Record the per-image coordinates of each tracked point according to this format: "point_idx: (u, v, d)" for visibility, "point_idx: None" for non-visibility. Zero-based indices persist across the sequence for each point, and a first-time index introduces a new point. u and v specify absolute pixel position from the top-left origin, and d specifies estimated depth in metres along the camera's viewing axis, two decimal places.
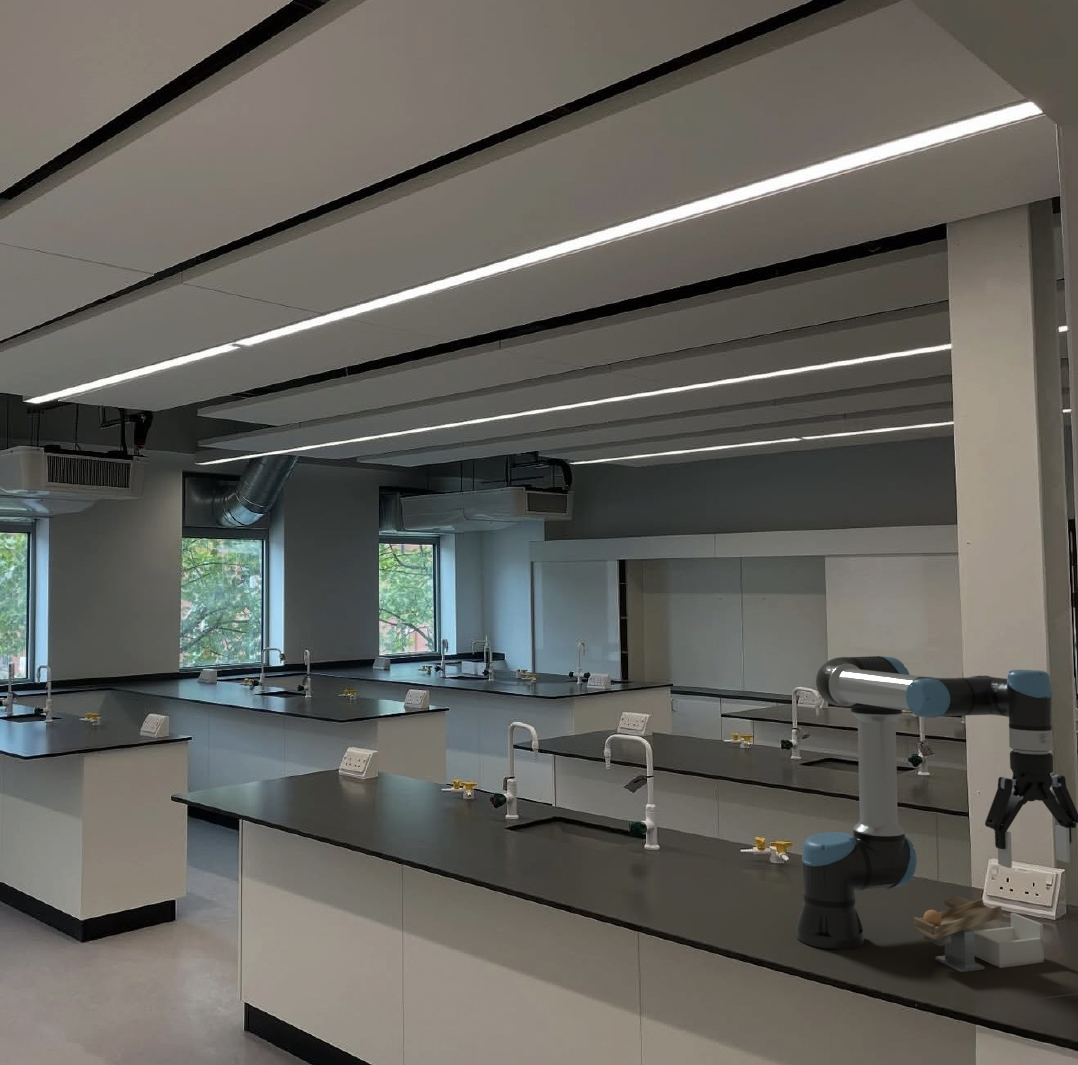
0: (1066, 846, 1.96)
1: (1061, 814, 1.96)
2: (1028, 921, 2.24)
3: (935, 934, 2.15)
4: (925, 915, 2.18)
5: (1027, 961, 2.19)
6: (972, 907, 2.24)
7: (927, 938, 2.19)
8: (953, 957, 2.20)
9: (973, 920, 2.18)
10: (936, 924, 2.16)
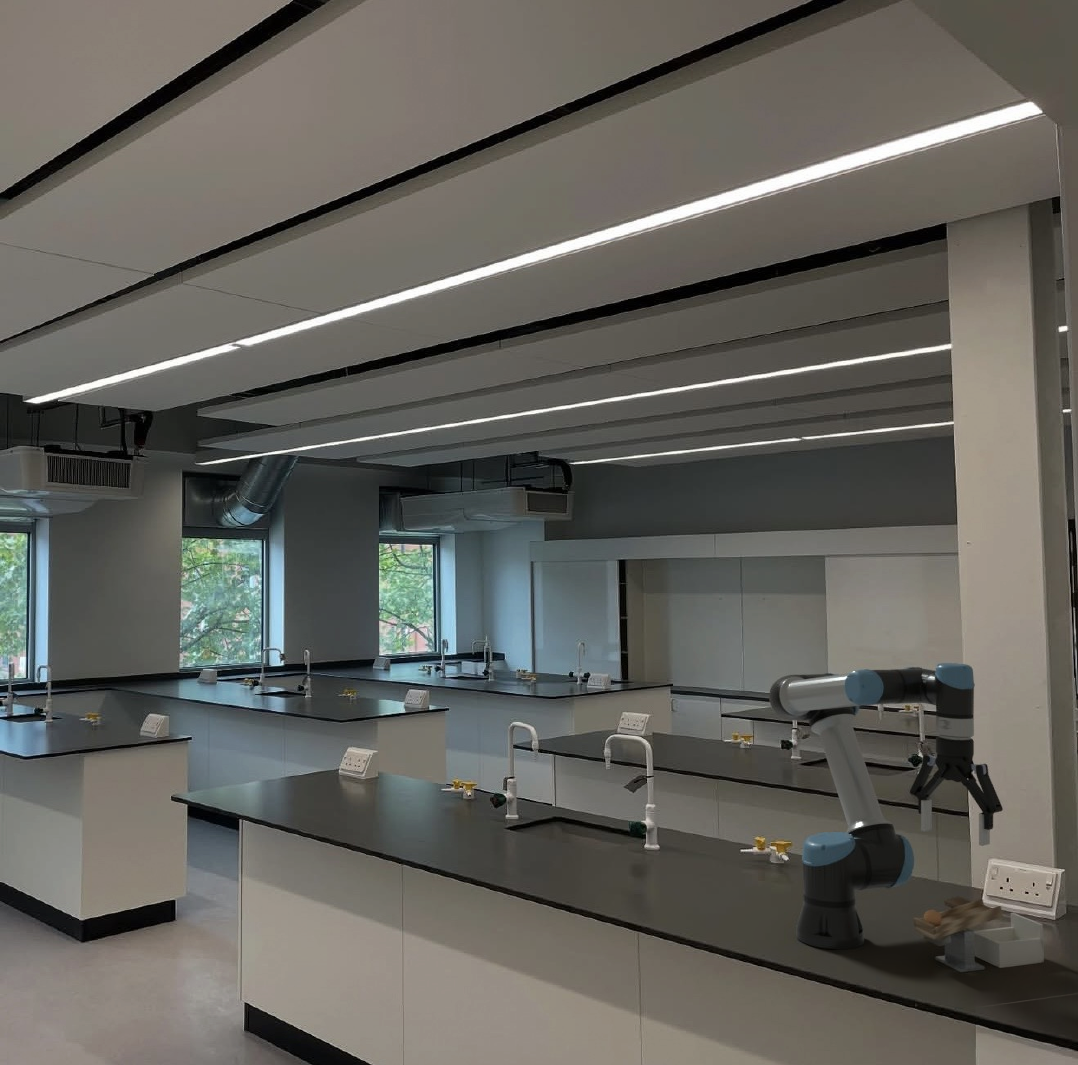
0: (979, 830, 2.11)
1: (976, 800, 2.12)
2: (1028, 921, 2.24)
3: (935, 934, 2.15)
4: (925, 915, 2.18)
5: (1027, 961, 2.19)
6: (972, 907, 2.24)
7: (927, 938, 2.19)
8: (953, 957, 2.20)
9: (973, 920, 2.18)
10: (936, 924, 2.16)
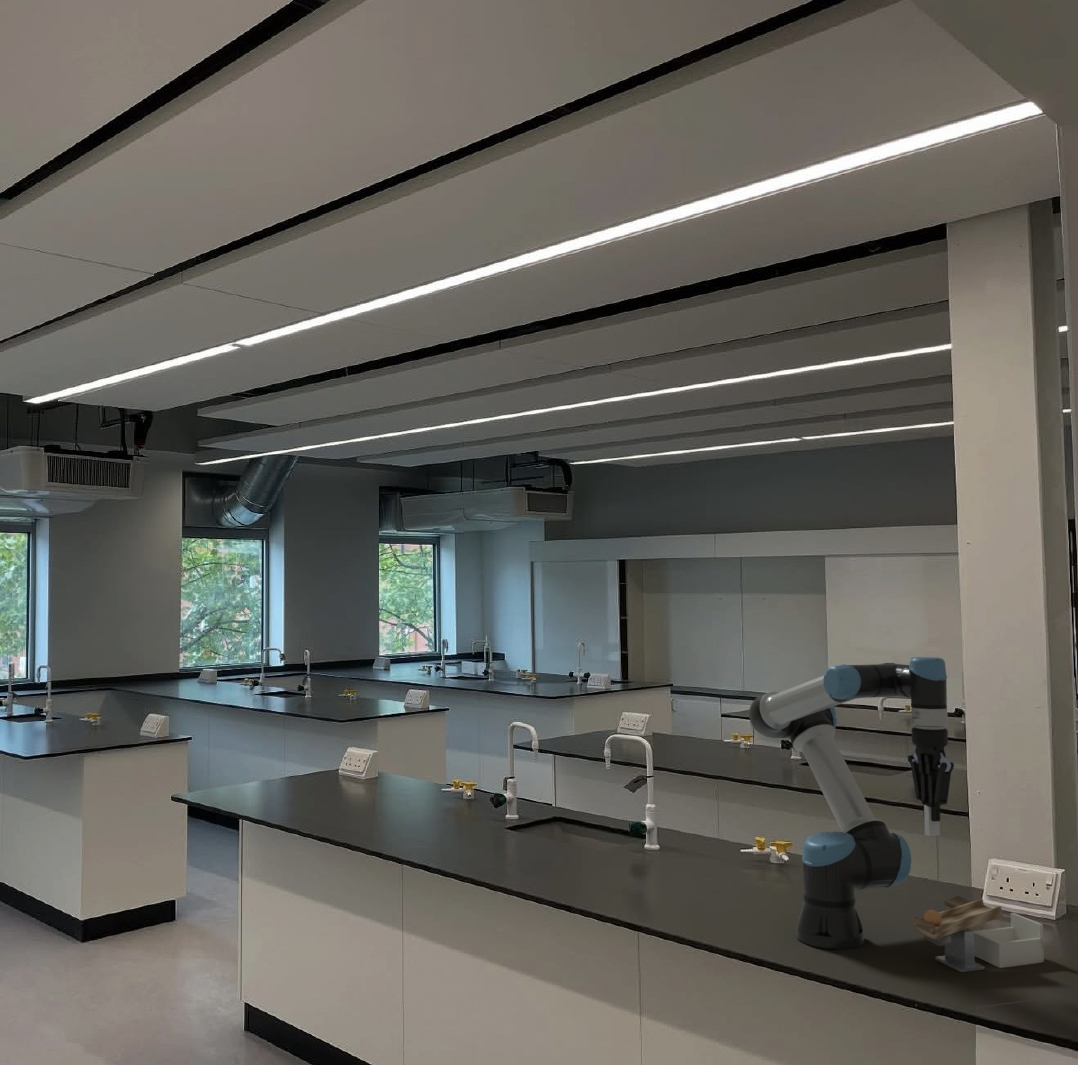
0: (927, 822, 2.25)
1: (929, 790, 2.25)
2: (1028, 921, 2.24)
3: (935, 934, 2.15)
4: (925, 915, 2.18)
5: (1027, 961, 2.19)
6: (972, 907, 2.24)
7: (927, 938, 2.19)
8: (953, 957, 2.20)
9: (973, 920, 2.18)
10: (936, 924, 2.16)
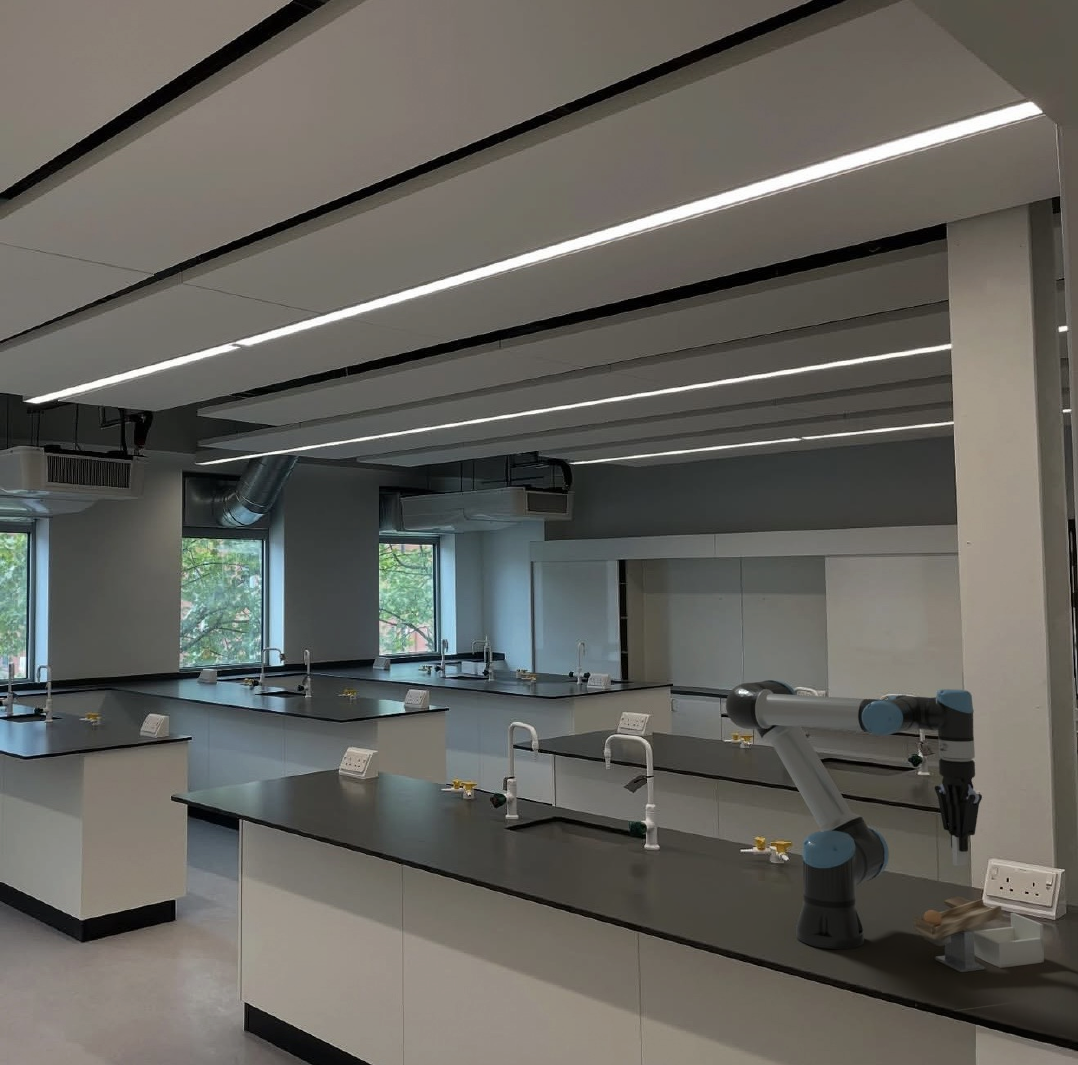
0: (954, 852, 2.29)
1: (957, 821, 2.29)
2: (1028, 921, 2.24)
3: (935, 934, 2.15)
4: (925, 915, 2.18)
5: (1027, 961, 2.19)
6: (972, 907, 2.24)
7: (927, 938, 2.19)
8: (953, 957, 2.20)
9: (973, 920, 2.18)
10: (936, 924, 2.16)
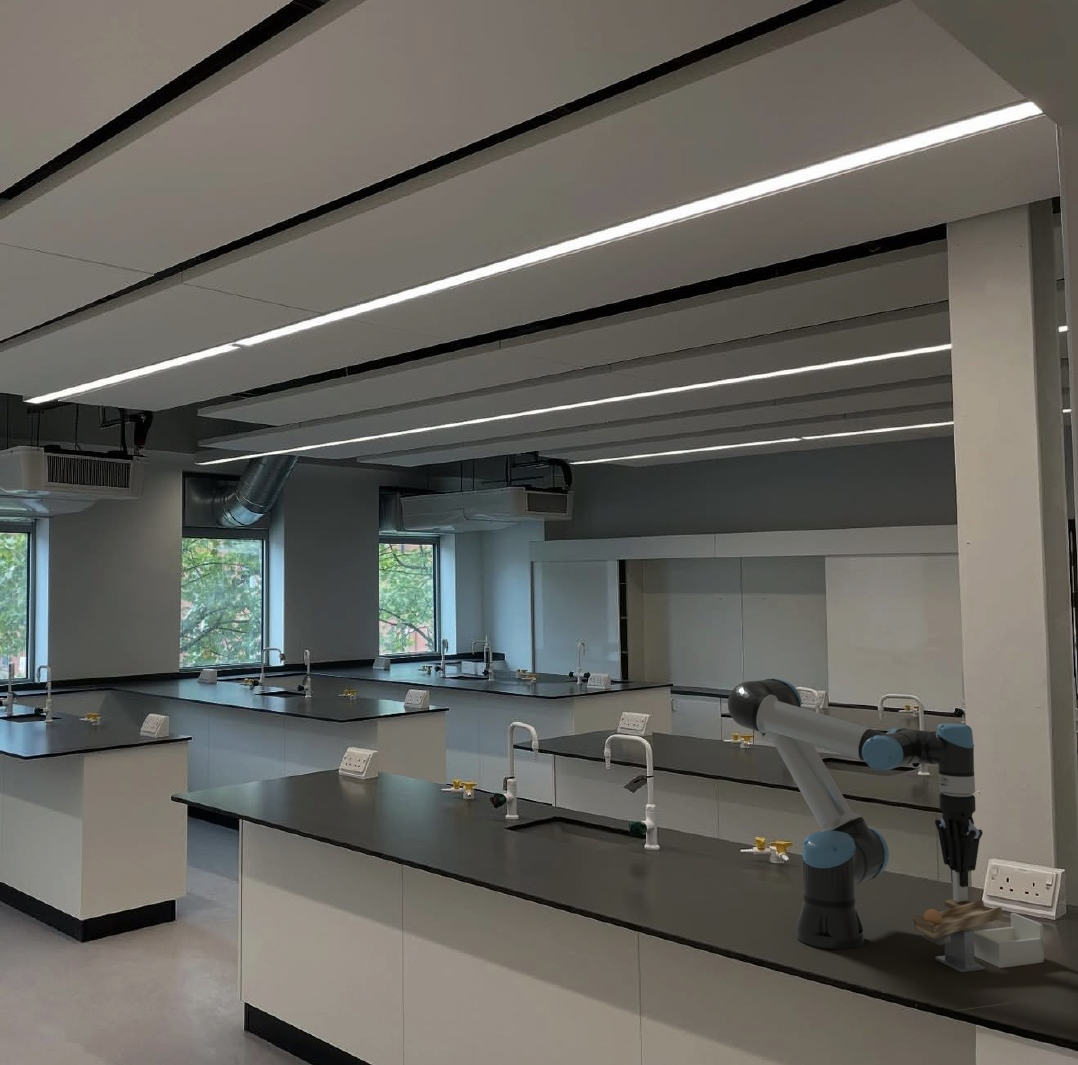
0: (955, 887, 2.29)
1: (957, 856, 2.28)
2: (1028, 921, 2.24)
3: (935, 933, 2.15)
4: (925, 914, 2.18)
5: (1027, 961, 2.19)
6: (972, 908, 2.24)
7: (927, 937, 2.19)
8: (953, 957, 2.20)
9: (973, 920, 2.18)
10: (936, 923, 2.16)
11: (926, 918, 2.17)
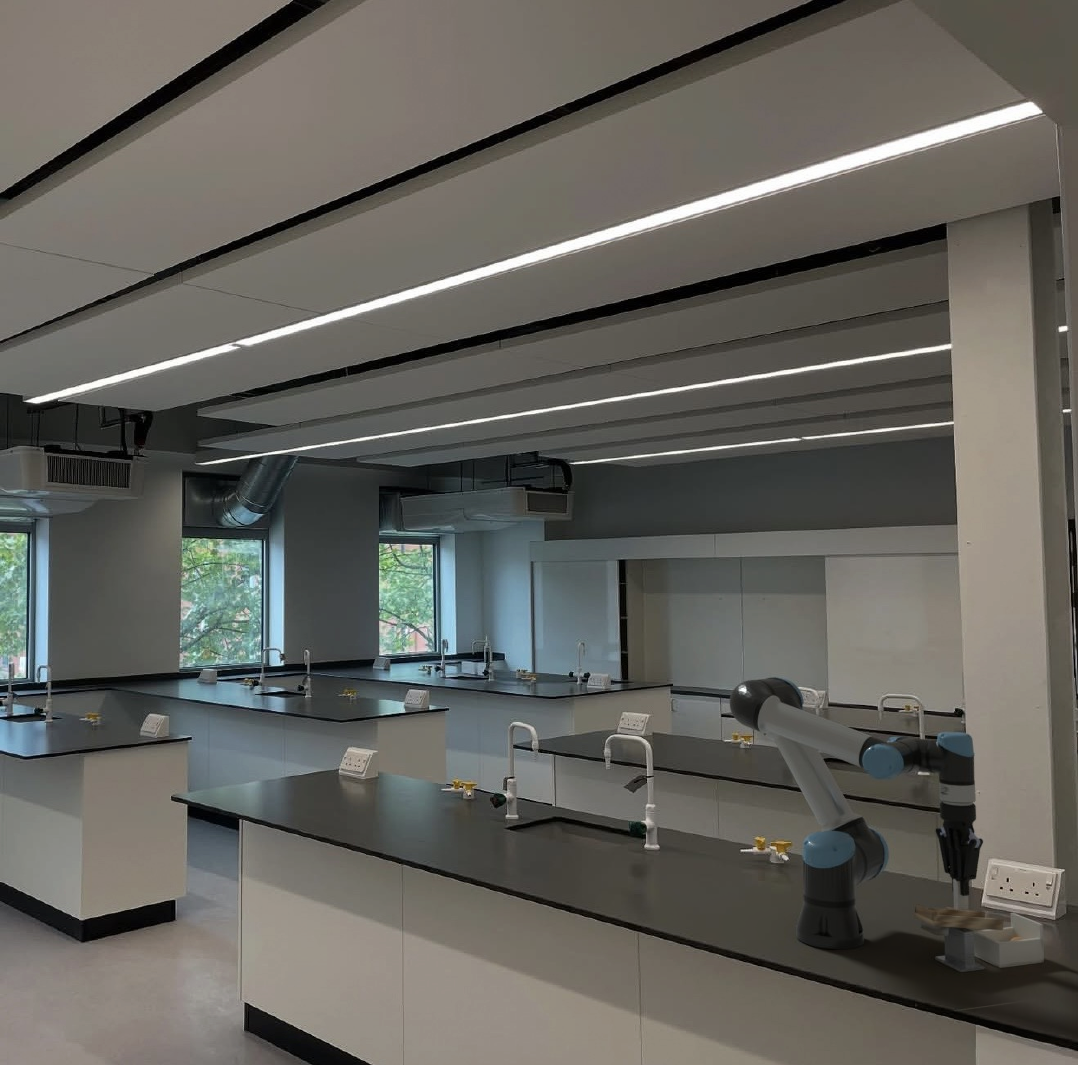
0: (956, 896, 2.29)
1: (958, 865, 2.28)
2: (1028, 921, 2.24)
3: (935, 921, 2.15)
4: (1017, 937, 2.25)
5: (1027, 961, 2.19)
6: (973, 916, 2.24)
7: (924, 927, 2.19)
8: (953, 957, 2.20)
9: (974, 922, 2.18)
10: None
11: (1016, 938, 2.24)
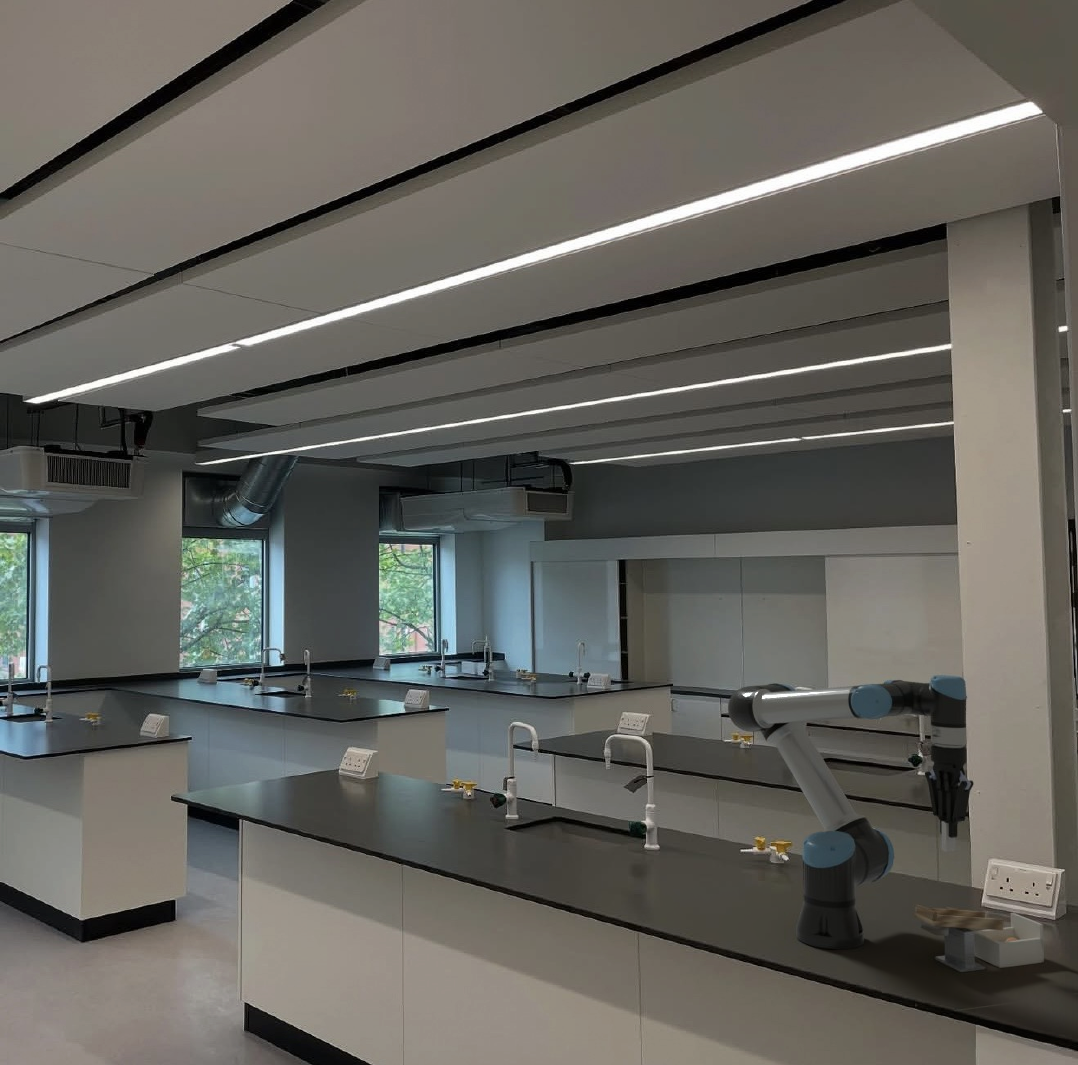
0: (944, 838, 2.29)
1: (947, 807, 2.29)
2: (1028, 921, 2.24)
3: (935, 921, 2.15)
4: (1008, 940, 2.24)
5: (1027, 961, 2.19)
6: (973, 916, 2.24)
7: (924, 927, 2.19)
8: (953, 957, 2.20)
9: (974, 922, 2.18)
10: None
11: None
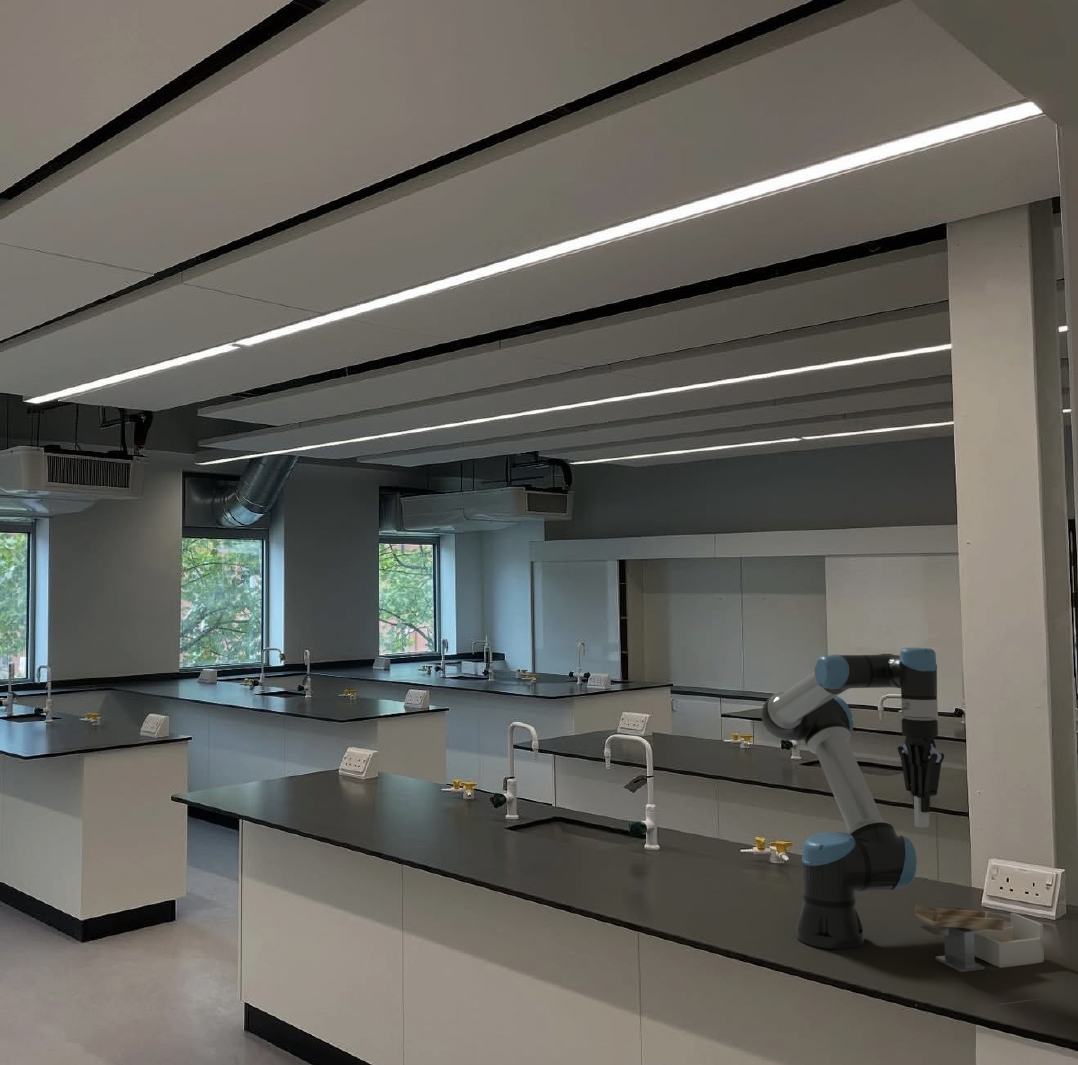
0: (916, 813, 2.24)
1: (919, 781, 2.24)
2: (1028, 921, 2.24)
3: (935, 921, 2.15)
4: None
5: (1027, 961, 2.19)
6: (973, 916, 2.24)
7: (924, 927, 2.19)
8: (953, 957, 2.20)
9: (974, 922, 2.18)
10: None
11: None
